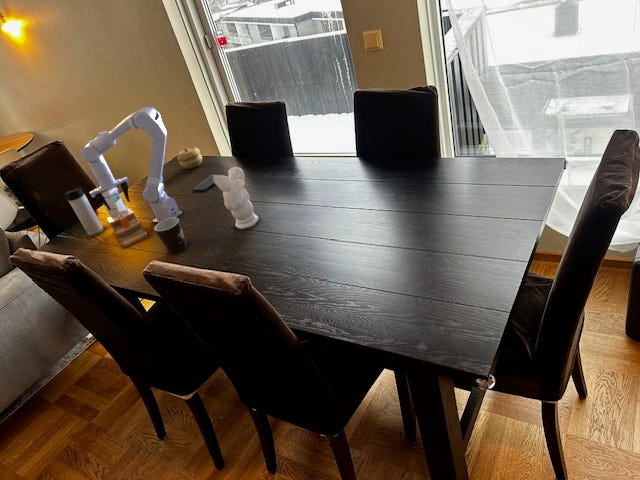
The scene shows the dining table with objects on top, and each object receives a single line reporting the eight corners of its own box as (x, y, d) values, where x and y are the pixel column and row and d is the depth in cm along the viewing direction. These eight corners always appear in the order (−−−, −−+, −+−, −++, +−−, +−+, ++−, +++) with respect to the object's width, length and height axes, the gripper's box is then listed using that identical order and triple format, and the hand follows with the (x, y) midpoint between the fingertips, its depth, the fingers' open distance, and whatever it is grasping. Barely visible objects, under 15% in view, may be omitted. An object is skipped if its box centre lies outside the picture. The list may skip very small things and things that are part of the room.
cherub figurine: (252, 213, 168) (233, 159, 156) (272, 220, 159) (253, 163, 148) (226, 229, 162) (204, 174, 150) (245, 237, 153) (224, 179, 142)
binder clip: (130, 226, 173) (125, 215, 171) (124, 229, 172) (119, 218, 170) (128, 222, 177) (122, 212, 174) (122, 225, 176) (116, 215, 173)
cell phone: (224, 176, 206) (224, 174, 206) (205, 190, 197) (204, 189, 196) (213, 175, 210) (212, 174, 209) (193, 190, 200) (192, 188, 200)
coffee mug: (177, 257, 153) (165, 232, 147) (161, 253, 157) (149, 229, 152) (200, 238, 160) (190, 214, 155) (184, 235, 165) (174, 212, 160)
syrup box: (122, 218, 192) (106, 188, 184) (111, 220, 193) (95, 190, 186) (130, 212, 196) (114, 182, 189) (118, 213, 198) (103, 183, 190)
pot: (178, 173, 225) (170, 154, 220) (187, 163, 234) (180, 145, 229) (199, 169, 222) (191, 151, 217) (207, 160, 231) (200, 141, 226)
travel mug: (89, 238, 182) (63, 195, 172) (88, 232, 188) (63, 190, 177) (104, 232, 184) (80, 189, 174) (103, 226, 189) (79, 184, 179)
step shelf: (148, 237, 171) (141, 222, 168) (124, 248, 167) (116, 234, 164) (137, 221, 186) (130, 207, 183) (114, 231, 182) (106, 217, 179)
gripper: (85, 184, 165) (103, 216, 172) (124, 169, 171) (139, 200, 178) (82, 180, 170) (99, 211, 177) (119, 165, 176) (135, 195, 183)
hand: (119, 205), depth 178 cm, fingers open, 7 cm apart
